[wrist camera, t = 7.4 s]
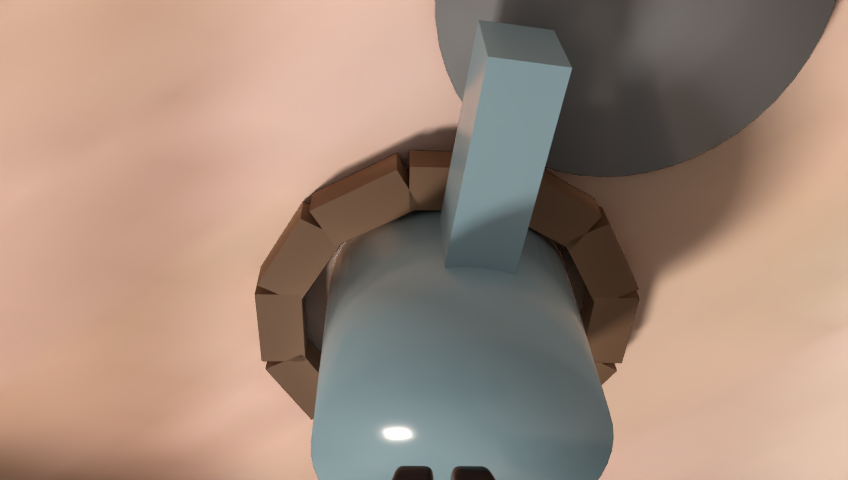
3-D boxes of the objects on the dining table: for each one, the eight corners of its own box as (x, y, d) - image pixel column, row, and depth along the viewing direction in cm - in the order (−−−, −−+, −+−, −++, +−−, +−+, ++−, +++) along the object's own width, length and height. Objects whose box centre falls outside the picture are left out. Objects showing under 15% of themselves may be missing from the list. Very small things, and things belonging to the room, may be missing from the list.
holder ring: (663, 155, 19) (673, 172, 18) (592, 432, 25) (597, 452, 24) (246, 146, 18) (241, 163, 18) (274, 432, 24) (271, 452, 23)
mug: (536, 387, 23) (569, 549, 19) (320, 369, 23) (302, 533, 18) (654, 27, 17) (747, 144, 13) (358, -14, 16) (344, 94, 12)
